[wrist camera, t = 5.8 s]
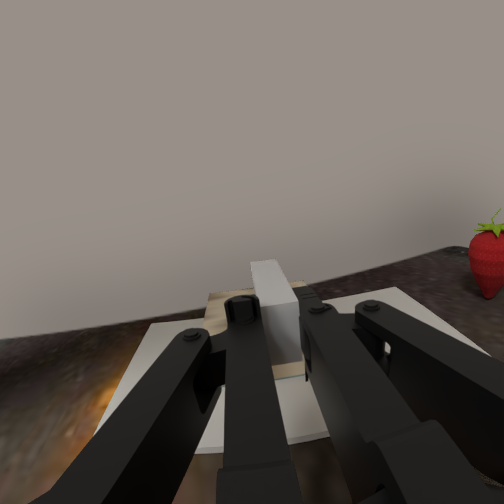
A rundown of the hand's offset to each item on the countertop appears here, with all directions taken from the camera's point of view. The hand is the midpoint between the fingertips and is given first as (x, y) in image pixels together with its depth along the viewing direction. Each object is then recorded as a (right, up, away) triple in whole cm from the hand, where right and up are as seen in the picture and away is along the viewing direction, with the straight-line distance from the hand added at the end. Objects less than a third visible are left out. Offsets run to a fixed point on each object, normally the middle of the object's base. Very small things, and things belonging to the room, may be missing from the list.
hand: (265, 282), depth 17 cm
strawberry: (+25, -4, +7) cm, 27 cm away
